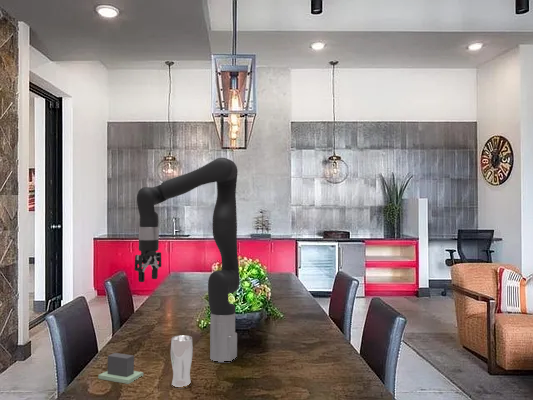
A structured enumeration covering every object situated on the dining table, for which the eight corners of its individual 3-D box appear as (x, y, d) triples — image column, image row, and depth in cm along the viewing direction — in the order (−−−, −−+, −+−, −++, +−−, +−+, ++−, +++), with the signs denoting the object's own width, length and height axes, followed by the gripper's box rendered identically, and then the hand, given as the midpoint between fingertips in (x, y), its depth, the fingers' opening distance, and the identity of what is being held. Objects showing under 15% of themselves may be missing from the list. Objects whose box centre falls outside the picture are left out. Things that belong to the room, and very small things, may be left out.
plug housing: (133, 373, 165) (133, 355, 165) (126, 377, 162) (127, 358, 162) (114, 370, 168) (114, 352, 168) (107, 373, 164) (107, 355, 164)
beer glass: (193, 381, 162) (194, 335, 162) (191, 388, 155) (191, 340, 155) (172, 381, 162) (172, 335, 162) (168, 389, 155) (169, 340, 155)
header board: (143, 376, 166) (143, 361, 166) (128, 383, 159) (128, 369, 159) (114, 371, 171) (114, 357, 171) (98, 378, 163) (98, 364, 163)
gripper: (145, 240, 184) (145, 283, 184) (167, 237, 197) (166, 278, 197) (129, 239, 187) (128, 282, 187) (151, 237, 200) (150, 277, 200)
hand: (148, 280), depth 192 cm, fingers open, 8 cm apart
